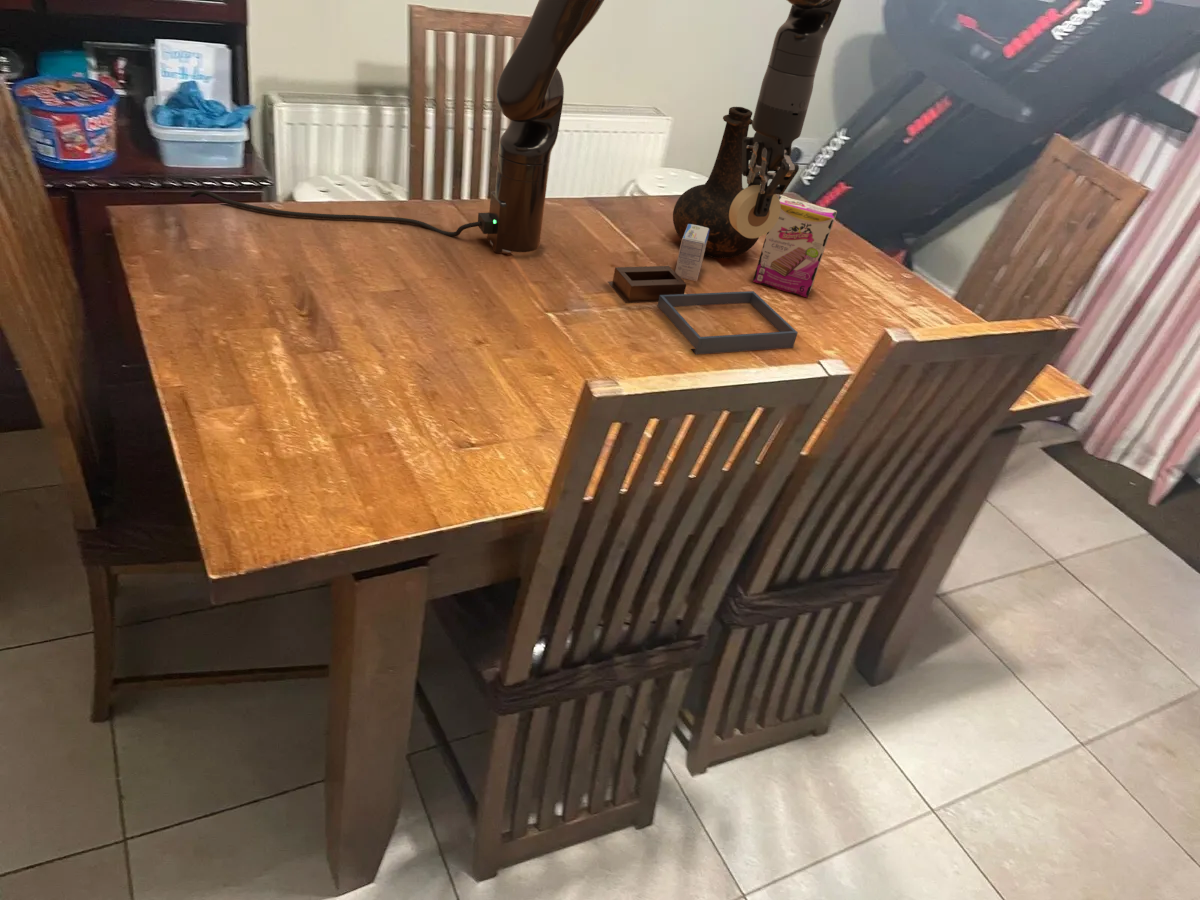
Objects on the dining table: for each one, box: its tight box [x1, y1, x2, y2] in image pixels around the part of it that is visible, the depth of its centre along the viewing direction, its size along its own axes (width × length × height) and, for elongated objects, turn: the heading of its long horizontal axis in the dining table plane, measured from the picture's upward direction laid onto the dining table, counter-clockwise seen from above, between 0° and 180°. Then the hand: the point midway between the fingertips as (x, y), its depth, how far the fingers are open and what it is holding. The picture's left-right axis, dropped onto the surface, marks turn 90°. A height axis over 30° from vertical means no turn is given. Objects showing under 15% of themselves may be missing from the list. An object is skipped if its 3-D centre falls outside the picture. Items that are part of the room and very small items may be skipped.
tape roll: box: [729, 184, 781, 238], centre depth 147 cm, size 2×8×8 cm, turn 113°
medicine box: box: [674, 224, 710, 282], centre depth 173 cm, size 8×4×9 cm, turn 168°
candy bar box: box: [752, 194, 838, 299], centre depth 173 cm, size 11×5×16 cm, turn 71°
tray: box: [657, 290, 799, 356], centre depth 158 cm, size 19×15×3 cm
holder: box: [607, 265, 687, 304], centre depth 164 cm, size 8×12×4 cm
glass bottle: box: [672, 106, 760, 259], centre depth 179 cm, size 18×18×28 cm
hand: (755, 211), depth 147 cm, fingers closed on tape roll, 2 cm apart
